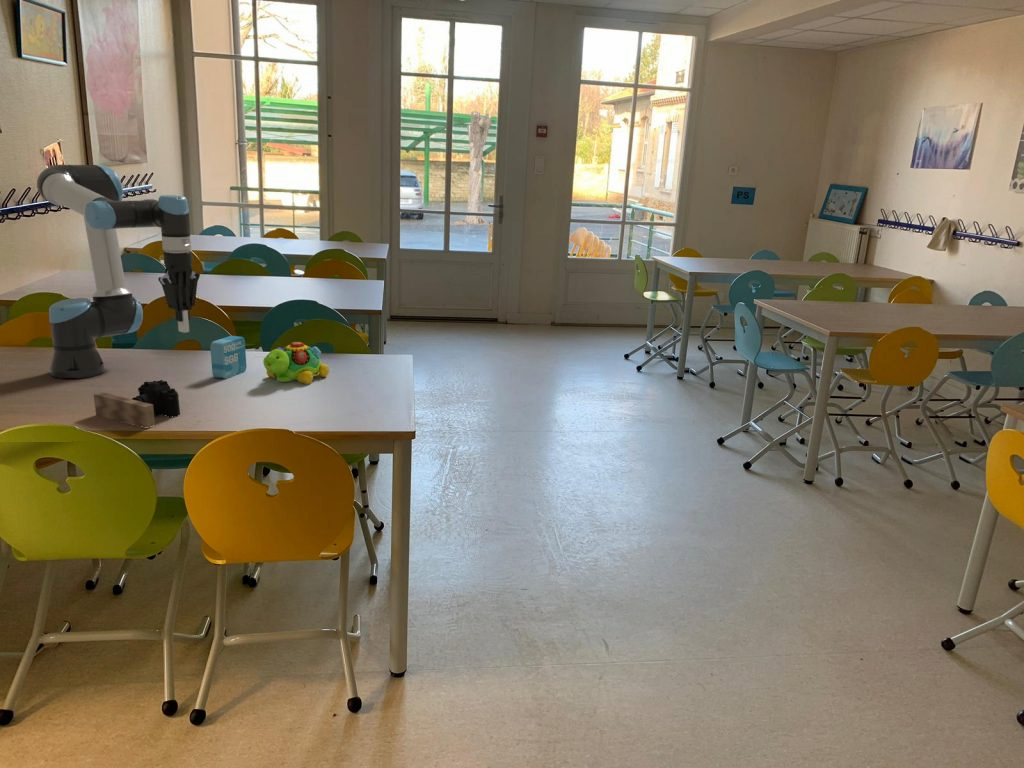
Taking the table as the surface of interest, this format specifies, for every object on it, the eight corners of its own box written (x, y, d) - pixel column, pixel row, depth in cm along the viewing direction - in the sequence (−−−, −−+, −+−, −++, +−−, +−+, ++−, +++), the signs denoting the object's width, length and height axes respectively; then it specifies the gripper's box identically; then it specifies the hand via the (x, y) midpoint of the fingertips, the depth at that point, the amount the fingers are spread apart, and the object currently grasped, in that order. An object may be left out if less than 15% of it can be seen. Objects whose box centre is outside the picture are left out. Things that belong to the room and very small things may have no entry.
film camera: (120, 412, 207) (116, 381, 204) (152, 404, 214) (149, 374, 212) (153, 424, 199) (150, 392, 196) (185, 415, 207) (182, 384, 204)
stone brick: (96, 415, 204) (93, 394, 202) (104, 412, 206) (101, 391, 204) (147, 428, 195) (145, 407, 194) (155, 426, 198) (153, 404, 196)
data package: (224, 380, 239) (221, 343, 236) (212, 378, 240) (209, 342, 237) (247, 370, 250) (245, 336, 247) (235, 369, 252) (233, 334, 248)
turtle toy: (248, 384, 236) (246, 348, 233) (294, 367, 257) (292, 334, 254) (292, 392, 230) (290, 355, 227) (335, 374, 251) (334, 340, 248)
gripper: (167, 254, 206) (174, 337, 212) (205, 250, 217) (210, 329, 224) (148, 251, 209) (156, 333, 215) (186, 247, 220) (192, 325, 227)
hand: (183, 331), depth 220 cm, fingers closed
